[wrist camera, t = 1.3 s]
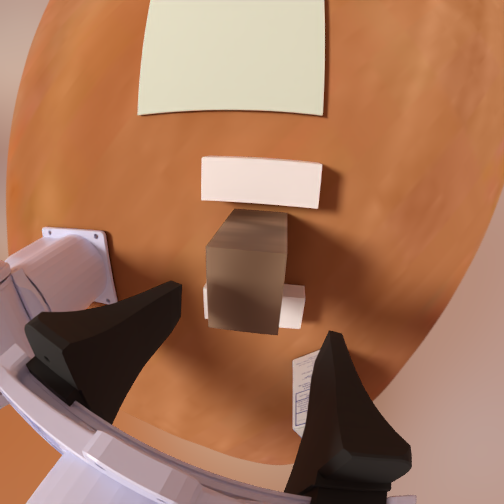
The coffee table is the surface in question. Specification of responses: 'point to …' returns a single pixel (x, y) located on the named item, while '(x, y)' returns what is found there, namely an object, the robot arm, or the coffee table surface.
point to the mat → (233, 56)
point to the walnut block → (247, 272)
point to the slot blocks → (264, 201)
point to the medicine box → (302, 389)
